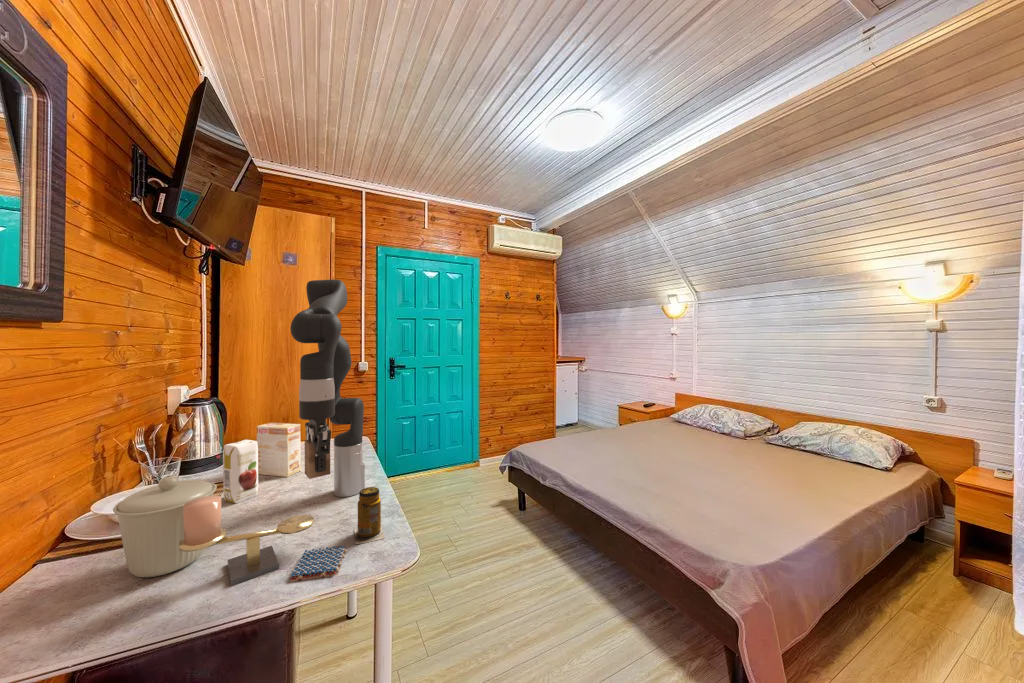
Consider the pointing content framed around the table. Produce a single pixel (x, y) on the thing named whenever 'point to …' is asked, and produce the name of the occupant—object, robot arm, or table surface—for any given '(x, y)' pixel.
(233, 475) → the juice carton
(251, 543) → the balance
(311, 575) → the woven mat
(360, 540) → the condiment
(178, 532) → the canister
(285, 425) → the coffeecake box
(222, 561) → the table surface
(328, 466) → the block
